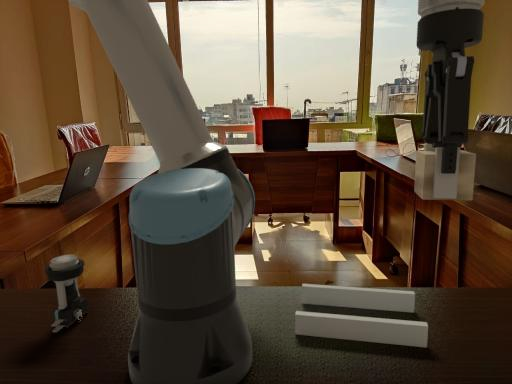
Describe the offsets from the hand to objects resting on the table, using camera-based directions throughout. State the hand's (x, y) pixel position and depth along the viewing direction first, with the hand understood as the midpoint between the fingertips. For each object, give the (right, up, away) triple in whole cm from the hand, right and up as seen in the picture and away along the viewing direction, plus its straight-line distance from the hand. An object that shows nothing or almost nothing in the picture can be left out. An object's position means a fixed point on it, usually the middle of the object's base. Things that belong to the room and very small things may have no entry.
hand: (437, 192), depth 52 cm
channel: (-10, -19, +3) cm, 22 cm away
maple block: (0, 0, 0) cm, 1 cm away
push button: (-54, -20, +5) cm, 57 cm away
